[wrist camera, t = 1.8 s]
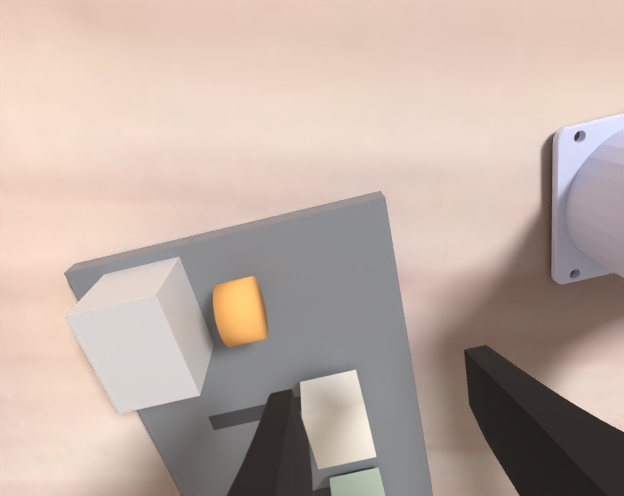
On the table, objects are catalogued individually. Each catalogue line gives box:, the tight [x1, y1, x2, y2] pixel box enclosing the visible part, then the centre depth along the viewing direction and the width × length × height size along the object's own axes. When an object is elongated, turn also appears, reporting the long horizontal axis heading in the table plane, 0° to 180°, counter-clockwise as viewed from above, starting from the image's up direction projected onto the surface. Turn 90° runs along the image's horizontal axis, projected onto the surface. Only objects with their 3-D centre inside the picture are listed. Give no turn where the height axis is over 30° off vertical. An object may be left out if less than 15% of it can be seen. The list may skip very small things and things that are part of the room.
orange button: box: [213, 276, 268, 347], centre depth 18 cm, size 2×3×3 cm, turn 13°
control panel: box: [64, 191, 433, 496], centre depth 21 cm, size 15×21×5 cm
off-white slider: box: [300, 370, 376, 470], centre depth 21 cm, size 3×4×2 cm
